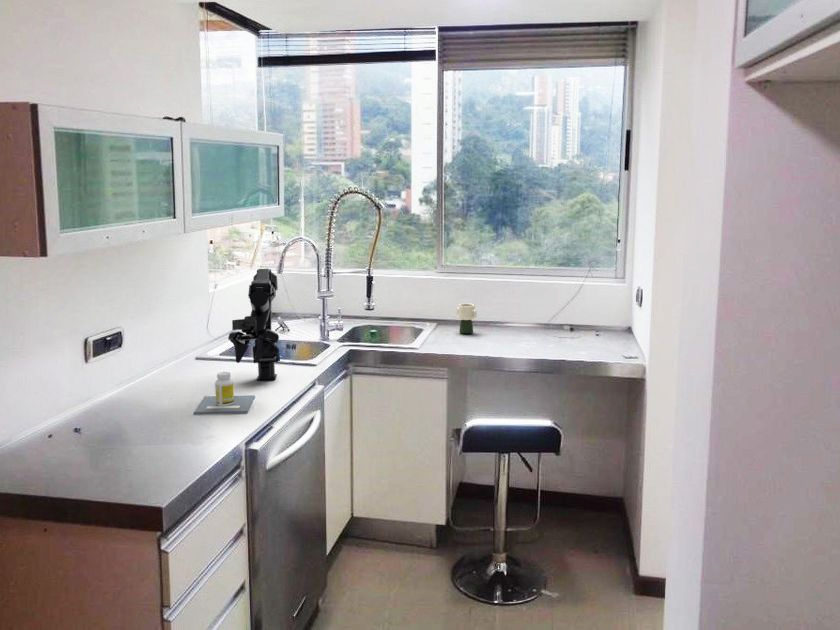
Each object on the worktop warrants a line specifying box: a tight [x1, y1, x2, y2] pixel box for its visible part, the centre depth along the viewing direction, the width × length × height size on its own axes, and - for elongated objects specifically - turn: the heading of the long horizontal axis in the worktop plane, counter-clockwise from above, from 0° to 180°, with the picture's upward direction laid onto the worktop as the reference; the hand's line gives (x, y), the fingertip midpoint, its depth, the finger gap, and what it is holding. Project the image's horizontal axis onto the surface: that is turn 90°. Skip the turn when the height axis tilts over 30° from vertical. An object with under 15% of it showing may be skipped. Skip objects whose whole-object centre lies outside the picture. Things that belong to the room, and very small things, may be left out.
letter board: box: [193, 394, 256, 415], centre depth 240 cm, size 16×16×1 cm
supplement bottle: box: [214, 371, 235, 406], centre depth 239 cm, size 5×5×10 cm
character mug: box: [456, 303, 478, 335], centre depth 342 cm, size 11×7×13 cm, turn 49°
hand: (246, 361), depth 247 cm, fingers open, 9 cm apart
